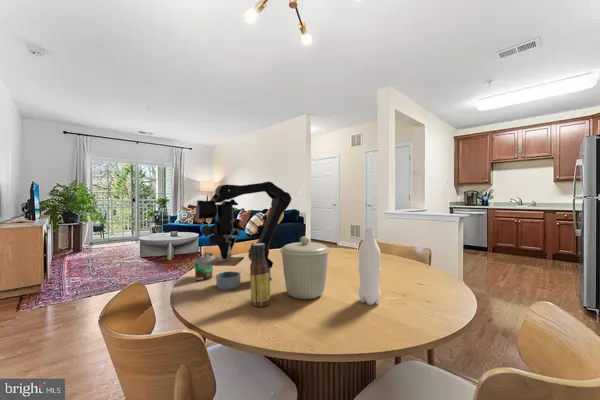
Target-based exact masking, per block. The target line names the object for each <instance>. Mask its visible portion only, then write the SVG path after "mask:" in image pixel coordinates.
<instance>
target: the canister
mask: <svg viewBox="0 0 600 400" xmlns="http://www.w3.org/2000/svg"><path fill="white" fill-rule="evenodd" d="M279 251H280V253H281V259H282V268H283V276H284V281H285V282H284V283H285V289H286V292H287V294H288V295H289V296H290V297H293V299H298V300H312V299H316V298H318V297H320V296H321V295H322V294H323V293H324V290H325V287H326V279H327V271H328V270H327V269H328V260H329V254H330V252H331V249H330V248H329V247H328V246H327V245H325V244H323V243H320V242H319V243H318V242H313V241H312V242H311V238H310V237H309V236H308V235H304V236H303V235H302V236H301V237H300V238H299V242H298V241H297V242H291V243H288V244H285V245H284V246H282V247H281V248H280V249H279Z"/></svg>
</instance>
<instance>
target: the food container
mask: <svg viewBox="0 0 600 400" xmlns="http://www.w3.org/2000/svg"><path fill="white" fill-rule="evenodd" d="M215 258H216V257H215V255H214V254H213V252H204V254H203V255H200V256H199V257H194V261H193V264H194V270H195V271H194V272H195V273H194V274H195V282H199V283H200V282H206V281H209V280H211V279H212V278H213V270H214V269H213V267H214V266H206V264H207V263H209V262H210V261H212V260H213V259H215Z"/></svg>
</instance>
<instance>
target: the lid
mask: <svg viewBox="0 0 600 400" xmlns="http://www.w3.org/2000/svg"><path fill="white" fill-rule="evenodd" d="M214 258H215V259H213V260H212V261H210V262H209V263H207V264H206V266H213V267H214V266H215V267H217V266H218V267H228V266H229V267H230V266H231V267H236V266H237V265H238V264H239V263H241V262H242V261H243V260H244V259H245V257H244V256H232V251H231V247H230V248H229V251H228V254H227V257H226V259H223V257H222V254H221V253H220V256H216V257H214Z"/></svg>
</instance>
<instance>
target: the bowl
mask: <svg viewBox="0 0 600 400" xmlns="http://www.w3.org/2000/svg"><path fill="white" fill-rule="evenodd" d="M215 277H216V278H215V280H216V281H215V283H216V289H218V290H222V291H230V290H234V289H238V288H239V287H240V286H241V273H240V272H239V271H232V270H231V271H223V272H219V273H217V274H216V275H215Z"/></svg>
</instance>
